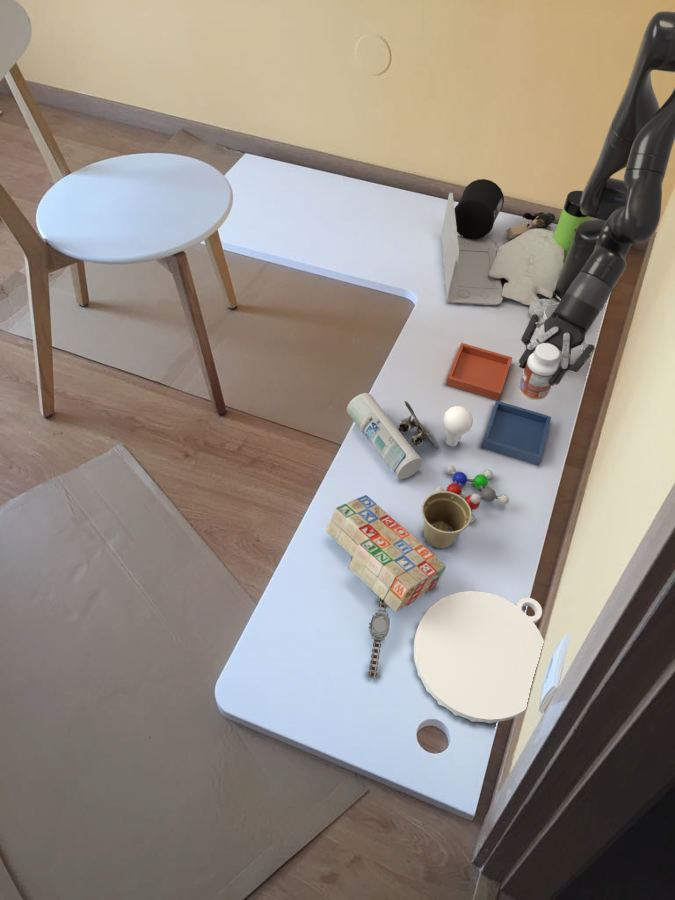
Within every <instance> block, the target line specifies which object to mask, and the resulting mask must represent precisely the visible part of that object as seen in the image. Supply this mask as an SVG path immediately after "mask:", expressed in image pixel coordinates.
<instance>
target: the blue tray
mask: <svg viewBox="0 0 675 900" xmlns="http://www.w3.org/2000/svg"><path fill="white" fill-rule="evenodd" d="M551 421H552V416H550V415H547V414H544V413H540V412H538V411H534V410H530V409H526V408H523V407H520V406H517V405H514V404H510V403H506V402H503V401H500V400H499V401H498V400H495V402H494V405H493V408H492V412H491V415H490V418H489V421H488V424H487V428H486V430H485V433H484V436H483V440H482V443H481V446H480V448H482V449H485V450H488V451H491V452H495V453H497V454H501V455H504V456H507V457H510V458H514V459H516V460H520V461H523V462H527V463H529V464H533V465H535V466H539V465H540V462H541V459H542V456H543V452H544V448H545V444H546V440H547V436H548V433H549V428H550V424H551Z"/></svg>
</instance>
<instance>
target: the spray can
mask: <svg viewBox="0 0 675 900" xmlns="http://www.w3.org/2000/svg"><path fill="white" fill-rule="evenodd" d="M346 413H347V415H349V417H350V418H351V419H352V421H353V422H354V423H355V424H356V426H357V427H358V428H359V430H360V431H361V432H362V434H363V436H364V437H366V439H367V440H368V442H369V443H370V444H371V446H373V448H374V449H375V451H376V452H377V453H378V454H379V456H380V457H381V459H383V461H384V462H385V463H386V465H387V466H388V467H389V469H390V470H391V471H392V472H393V474H394V475H395V477H397V479H399V480H405V479H408V478H410V477H411V476H413V475H414V474H415V473H417V472H418V470H420V469H421V467H422V464H423V460H422V458H421V456H419V454H418V453H417V452H416V450H415V449H414V447H412V445H411V444H410V442H409V441H408V440H407V439H406V437H405V436H404V435H403V433H402V432H400V431H399V430H398V427H397V425H396V424H395V423H394V422H393V421H392V420H391V418H390V417H389V416H388V415H387V413H386V412H385V411H384V409H383V408H382V407H381V405H379V403H378V402H377V401H376V399H375V397H373V395H372V394H371V393H369V392H363V393H359V394H358V395H356V396H355V397H354V398H352V399H351V400H350V401H349V403H348V404H347V407H346Z"/></svg>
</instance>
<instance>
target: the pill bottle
mask: <svg viewBox="0 0 675 900" xmlns="http://www.w3.org/2000/svg"><path fill="white" fill-rule="evenodd" d="M559 354H560V353H559V350H558V348H557V347H555V346H554V345H552V344H549V343H542V344H539V345H538V346H537V347H536V349H535V351H533V353H532V354H531V355H530V356H529V358H528V360H527V363H526V366H525V368H524V369H523V371H522V374H521V377H520V380H519V383H518V389H519V392H520V393H521V395H523V397H525V398H527V399H529V400H533V401H540V400H543V399H545V398H546V397H547V396H548V395H549V393H550V391H551V388H552V387H553V386H552V385H550V384H549V382H550V380H551V379H552V377H553V375H554V374H555V372H556V371H557V369H558V367H560V363H559V362H558V358H559Z"/></svg>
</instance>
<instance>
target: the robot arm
mask: <svg viewBox="0 0 675 900" xmlns="http://www.w3.org/2000/svg"><path fill="white" fill-rule="evenodd" d="M653 71H658V72H667V73H675V11H670V10H669V11H668V10H667V11H666V10H665V11H657V12H656V13H655V14H653V16H652V17H651V18H650V20H649V22H648V24H647V27H646V28H645V30H644V33H643V36H642V39H641V42H640V44H639V48H638V51H637V53H636V57H635V61H634V64H633V66H632V69H631V73H630V76H629V78H628V81H627V85H626V88H625V90H624V92H623V94H622V97H621V100H620V102H619V104H618V106H617V109H616V111H615V112H614V113H615V114H614V116H613V117H612V120H611V123H610V125H609V128H608V130H607V133H606V136H605V139H604V142H603V145H602V148H601V151H600V153H599V156H598V158H597V161H596V164H595V165H594V167H593V170H592V172H591V173H590V175H589V178H588V179H587V182H586V184H585V186H584V188H583V190H582V191H583V193H582V196H581V200H580V211H581V213H582V214H584V215H586V216H589V217H590V218H593V219H589V221H585V222H583V223H581V224H580V225H579V226H578V227H577V229H576V232H575V234H574V237H573V240H572V243H571V246H570V249H569V251H568V254H567V257H566V260H565V261H563V262H564V265H563V268H562V271H561V274H560V276H559V279H558V282H557V285H556V289H555V291H554V293H553V297H554V298H555V299H556V300H557V302H560V303H559V304H558V306H557V307H556V309H555V311H554V312H553V314H552V315H551V316H550V317H549V318H548V319H544V318H541V317H539V316H538V315H537V314H534V315H532V316H530V319H529V322H528V324H527V326H526V328H525V330H524V333H523V335H522V336H521V339H520V340H521V343H523V345H524V346H525V349H524V351H523V352H522V355H521V357H520V358H519V360H518V364H519V368H520V369H523V370H524V368H525V366H526V363H527V360H528V358H529V356H530V355H531V354H532V353H533V352H534V351H535V349H536V347H537V346H538V345H539V344H542V343H549V344H552V345H554V346H555V347H557V348H558V349H559V350H560V351H562V359H561V364H560V366H559V367H558V369H557V371H556V372H555V374H554V375H553V377H552V379H551V380H550V382H549V384H550V385H552V386H551V387H554V386H555V385H559V384H560V383H561V381H562V379H563V378H564V376H565V374H566V373H567V372H574V373H578V372H579V371H580V370H581V369H582V367H583V366H584V365H585V364H586V363H587V361H588V360H589V359H590V357H591V356H592V355H593V354H594V353H595V351H596V347H595V345H594V344H592V343H589V342H588V341H586V335H587V333H588V332H589V330H590V329H591V327H592V325H593V323H594V322H595V320H596V319H597V317H598V316H599V314H600V313H601V311H603V309H604V308H605V304H606V303H607V301H608V300H609V297H610V296H611V293H612V291H613V290H614V288H615V286H616V285H617V283H618V282H619V280H620V279H621V277H622V276H623V274H624V272H625V270H626V268H627V261H626V256H627V255H628V253H629V251H630V249H631V247H632V246H633V244H641V243H642V244H643V243H644V242H646V241H648V240H650V239H651V237H652V236H653V235H654V234H655V233H656V231H657V228H658V226H659V223H660V220H661V215H662V202H663V201H662V199H663V198H662V197H663V182H664V180H665V175H666V172H667V168H668V165H669V162H670V157H671V154H672V149H673V147H674V143H675V87H674V89H673V90H672V91H671V93H670V95H669V97H668V98H667V99H666V100H665V101H664V103H663V104H662V105H661V106H660V104H659V101H658V99H657V96H656V93H655V91H654V88H653V84H652V83H653V82H652V74H651V72H653ZM624 169H625V170H624ZM621 170H624V176H623V179H619V178H615V177H614V178H613V175H615V174H616V173H618V172H620V171H621ZM542 324H544V330H545V333H544V334H543V335H541V336H540V337H538V336H537V338H536V339H535V340H533V341H532V338H533V336H534V333H535V332H536V329H540V327H541V325H542ZM543 337H544V338H543ZM545 340H546V341H545ZM579 346H581V349H580V352H582V353H581V354H580V355H579V356H578V358H577V359H576V360H575V361H574V362H573V363H571V358H572V349H575V348H577V347H579Z"/></svg>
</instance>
